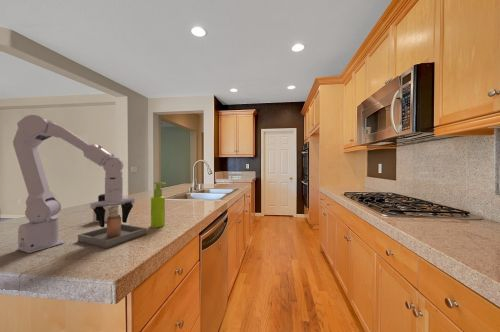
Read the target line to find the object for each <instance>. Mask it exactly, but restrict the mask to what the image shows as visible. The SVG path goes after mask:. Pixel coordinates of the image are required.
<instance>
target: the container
mask: <svg viewBox="0 0 500 332" xmlns="http://www.w3.org/2000/svg"><path fill="white" fill-rule="evenodd" d="M97 199H98V201H97V202H100V201H105V193H103V194H102V193H101V194H99V195H98V197H97ZM109 205H111V204H109ZM103 208H104V209H105V210H106V211H105V218H104V221H105V223H107V218H108V216H110V215H119V205H115V206H107V207H103ZM92 214H93V215H92V217H93V218H92V219H93V221H92V222H93V223H99V220H98V217H97V215H96V214H95V212H94V210H93V209H92Z"/></svg>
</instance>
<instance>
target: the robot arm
mask: <svg viewBox="0 0 500 332" xmlns="http://www.w3.org/2000/svg"><path fill="white" fill-rule="evenodd" d="M16 126H17V130H16V132H15V135H14V137H13V140H12V146H13V149H14V152H15V154H16V158H17V161H18V164H19V168H20V171H21V174H22V177H23V180H24V184H25V187H26V190H27V194H28V196H27V198H26V200H25V204H26V207H25V208H26V209H25V211H24V214H25V218H26V219H28V221H29V222H26V223H23V224H20V225H19V226H18V231H17V235H18V236H17V238H18V239H17V248H16V249H17V250H18V251H22V252H25V253H27V254H30V253H35V252H38V251H42V250H45V249H50V248H51V247H56V246H60V245H62V244H65V241H64V240H59V215H58V213H60V211H61V209H62V204H61V202H60V201H59V200H57V198H56V195H55V194H54V193H53V192H52V191H51V190H50V186H49V184H48V183H49V182H48V180H47V179H48V178H47V176H46V174H45V170H44V167H43V166H44V165H43V163H42V159H41V157H40V153H39V149H38V146H40V145H41V144H42V143H43V141H46V140H48V139H50V138H52V137H54V138H59V139H61V140H63V141H65V142H67V143H68V144H71V145H72V146H73V147H75V148H77V149H78V150H81V151H82V153H83V156H84V157H85V158H86V159H88V160H90V161H91V162H92V163H94V164H96V165H98V166H99V167H102V168H103V170H104V172H105V177H104V194H105V201H100V202H98V201H96V202H89V204H90V206H89V208H90V209H91V210H92V211H93V210H94V212H95V214H96V215H97V217H98V220H99V222H98V223H99V227H100V228H105V227H106V226H105V225H106V224H105V223H106V222H105V221H104V218H105V211H106V210H105V209H104V208H103V207H107V206H115V205H118V206H121V223H123V224H126V223H127V222H128V218H129V214H130V212H131V210H132V208H133V207H134V204H135V198H134V197H130V198H123V190H124V189H123V186H124V184H123V183H124V182H123V180H124V179H123V169H124V166H125V165H124V162H123V160H121V159H120V158H119V157H115V156H116V155H115V154H114V153H111V152H109V151H107V150H106V149H104V147H103V146H102V145H101V144H99V145H98V144H97V143H95V144H93V143H91V144H89V143H88V142H87V141H85V140H83V139H82V138H80V137H79V136H78V135H76V134H75V133H73V132H72V131H71V130H69V129H68V128H66V127H64V126H62V125H60V124H58V123H55V122H54V121H53V120H50V119H46V118H43V117H42V116H40V115H37V114H29V115H26V116H24V117H23V118H22V119H20V120H18V121H17V122H16ZM109 204H111V205H109Z"/></svg>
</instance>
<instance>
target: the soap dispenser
mask: <svg viewBox="0 0 500 332" xmlns="http://www.w3.org/2000/svg"><path fill="white" fill-rule="evenodd" d="M153 185H155V188H154V190H153V196H152V197H150V227H151V228H162V227H164V226H165V225H166V224H165V221H166V218H165V215H166V213H165V211H166V208H165V207H166V205H165V204H166V200H165V199H166V197H165V196H163V192H162V191H163V189H161V185H167V182H163V181H156V182H153Z"/></svg>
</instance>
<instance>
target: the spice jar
mask: <svg viewBox="0 0 500 332" xmlns="http://www.w3.org/2000/svg"><path fill="white" fill-rule="evenodd" d="M121 224H122V216H121V214H118V215H110V216H108V218H107V222H106V227H107V238H116V237H119V236H121Z"/></svg>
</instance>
